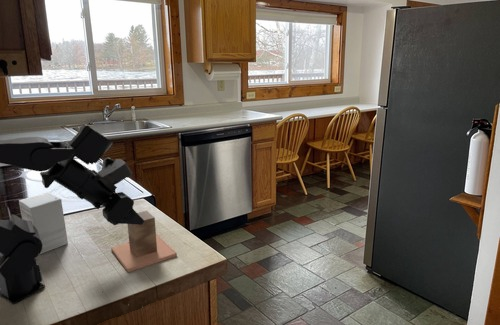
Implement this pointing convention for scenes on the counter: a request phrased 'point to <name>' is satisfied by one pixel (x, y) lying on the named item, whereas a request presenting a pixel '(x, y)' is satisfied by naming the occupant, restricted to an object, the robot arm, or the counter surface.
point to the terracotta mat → (135, 263)
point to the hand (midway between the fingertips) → (135, 215)
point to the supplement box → (46, 219)
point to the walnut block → (143, 235)
